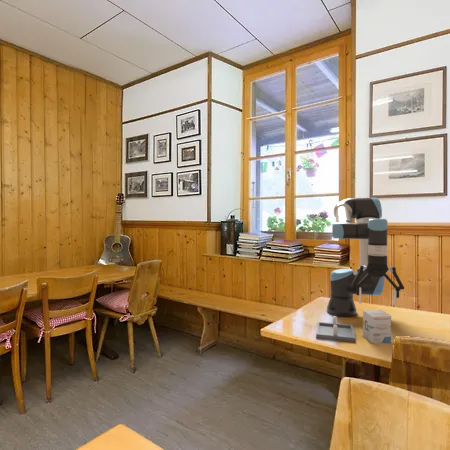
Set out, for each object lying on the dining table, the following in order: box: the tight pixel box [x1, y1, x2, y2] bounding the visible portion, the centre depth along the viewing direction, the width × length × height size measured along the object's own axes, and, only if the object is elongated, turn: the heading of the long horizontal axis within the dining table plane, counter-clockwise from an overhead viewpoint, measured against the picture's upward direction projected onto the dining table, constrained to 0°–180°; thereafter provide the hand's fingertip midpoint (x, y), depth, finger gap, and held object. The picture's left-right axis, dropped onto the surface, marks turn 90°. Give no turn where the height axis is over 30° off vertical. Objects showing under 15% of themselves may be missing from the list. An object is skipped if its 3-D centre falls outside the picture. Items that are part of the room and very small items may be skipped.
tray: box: [315, 315, 356, 343], centre depth 146 cm, size 16×16×6 cm
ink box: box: [362, 309, 392, 344], centre depth 139 cm, size 8×8×12 cm
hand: (377, 304), depth 138 cm, fingers open, 13 cm apart
